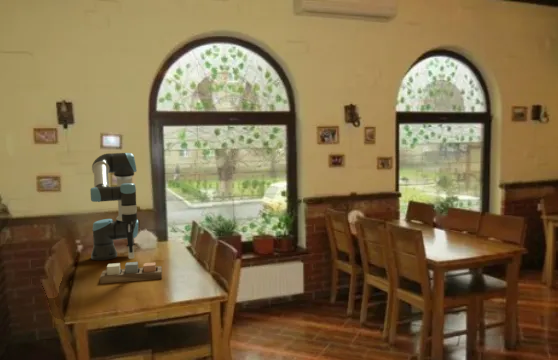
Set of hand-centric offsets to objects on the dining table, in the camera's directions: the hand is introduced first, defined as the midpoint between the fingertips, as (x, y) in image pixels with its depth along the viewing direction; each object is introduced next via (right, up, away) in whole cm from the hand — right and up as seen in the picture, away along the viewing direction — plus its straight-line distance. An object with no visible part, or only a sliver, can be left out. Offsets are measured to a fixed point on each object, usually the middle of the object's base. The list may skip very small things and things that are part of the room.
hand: (131, 258), depth 251 cm
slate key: (0, -7, +1) cm, 8 cm away
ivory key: (-9, -8, -1) cm, 12 cm away
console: (0, -10, +1) cm, 11 cm away
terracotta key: (+9, -8, +3) cm, 12 cm away
